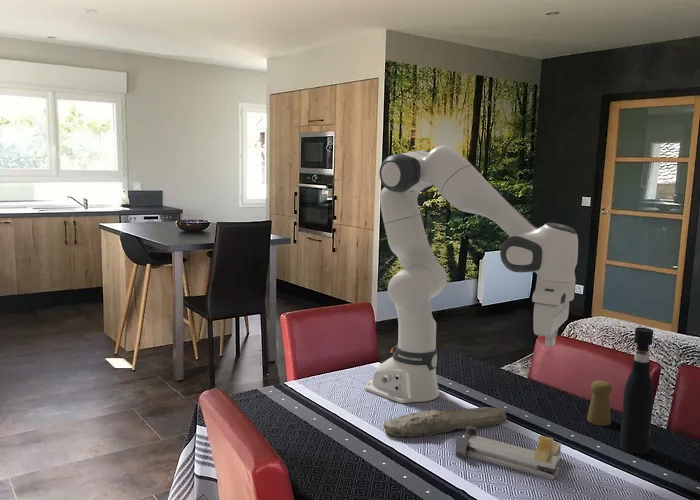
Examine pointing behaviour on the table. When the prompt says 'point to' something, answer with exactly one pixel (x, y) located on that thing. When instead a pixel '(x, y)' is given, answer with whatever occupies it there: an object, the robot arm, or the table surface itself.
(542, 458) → the tan l-shaped block
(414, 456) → the table surface
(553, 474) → the base
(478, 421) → the elongated rock
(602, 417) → the cork
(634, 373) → the wine bottle
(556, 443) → the tan wooden block
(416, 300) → the robot arm
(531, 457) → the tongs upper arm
